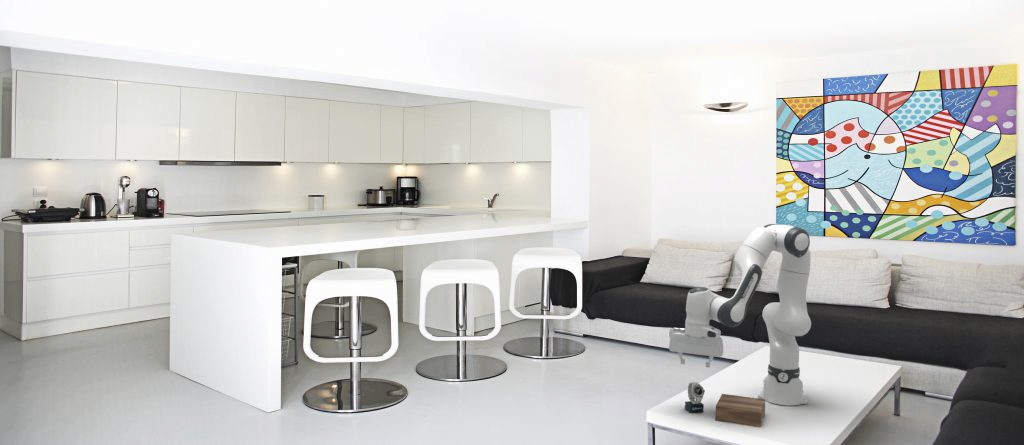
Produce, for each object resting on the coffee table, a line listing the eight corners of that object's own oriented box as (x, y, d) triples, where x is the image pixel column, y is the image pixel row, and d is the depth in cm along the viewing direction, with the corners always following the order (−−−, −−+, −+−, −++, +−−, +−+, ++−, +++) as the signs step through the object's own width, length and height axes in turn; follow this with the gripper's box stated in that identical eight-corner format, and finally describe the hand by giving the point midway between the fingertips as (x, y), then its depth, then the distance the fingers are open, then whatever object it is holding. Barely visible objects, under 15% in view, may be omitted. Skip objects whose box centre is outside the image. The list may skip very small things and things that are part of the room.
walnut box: (721, 408, 284) (722, 393, 283) (764, 414, 277) (765, 399, 277) (715, 421, 269) (715, 405, 269) (760, 428, 263) (761, 412, 262)
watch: (692, 414, 275) (693, 386, 274) (682, 408, 283) (683, 380, 282) (705, 413, 276) (706, 385, 275) (696, 407, 284) (697, 379, 283)
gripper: (668, 328, 278) (666, 363, 279) (723, 334, 271) (721, 370, 272) (670, 325, 284) (669, 360, 285) (724, 331, 276) (723, 366, 277)
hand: (695, 365), depth 278 cm, fingers open, 8 cm apart
